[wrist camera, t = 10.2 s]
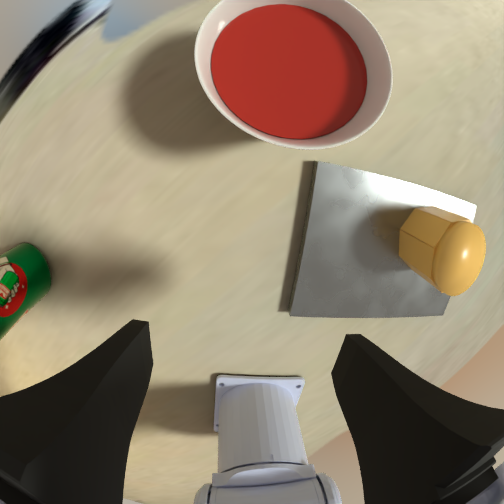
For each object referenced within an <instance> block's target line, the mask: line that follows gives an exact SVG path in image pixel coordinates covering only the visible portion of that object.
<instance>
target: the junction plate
mask: <svg viewBox="0 0 504 504" xmlns="http://www.w3.org/2000/svg"><path fill="white" fill-rule="evenodd" d="M430 206H435V207H438V208H441V209H444V210H446V211H449V212H452V213H454V214H457V215H460V216H462V217H465V218H468V219H470V220H471V222H472V224H473V220H474V216H475V211H476V205H474V204H471V203H469V202H466V201H463V200H461V199H458V198H455V197H452V196H449V195H446V194H443V193H440V192H437V191H434V190H431V189H428V188H425V187H422V186H419V185H415V184H412V183H408V182H405V181H401V180H398V179H394V178H390V177H387V176H383V175H379V174H375V173H371V172H367V171H363V170H358V169H354V168H349V167H345V166H340V165H335V164H330V163H325V162H320V161H314V168H313V175H312V182H311V188H310V195H309V201H308V207H307V213H306V219H305V225H304V231H303V236H302V242H301V248H300V253H299V258H298V264H297V269H296V274H295V279H294V284H293V289H292V294H291V299H290V303H289V308H288V312H289V315H290V316H298V317H331V318H390V317H421V316H440V315H443V314H444V311H445V309H446V306H447V304H448V301H449V299H450V296H449V295H447V294H445V293H441V292H440V291H439V290H437V289H436V288H435V287H434V286H432V285H431V284H430V283H429V282H427V281H426V280H425V279H423V278H422V277H421V276H419V275H418V274H417V273H415V272H414V271H413V270H411V268H410V267H409V266H408V265H407V264H406V263H405V262H404V261H403V260H402V259H401V258H400V257H399V235H400V228H401V227H402V225H403V224H404V223H405V221H406V220H407V219H408V217H409V216H410V214H411V213H412V212H413V210H414V209H415V208H420V207H430Z"/></svg>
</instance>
